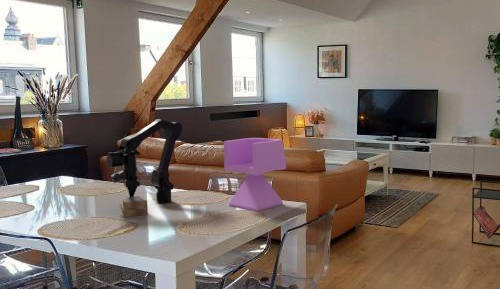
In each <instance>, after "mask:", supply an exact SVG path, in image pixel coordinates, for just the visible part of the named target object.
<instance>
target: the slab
mask: <svg viewBox="0 0 500 289" xmlns="http://www.w3.org/2000/svg"><path fill="white" fill-rule="evenodd" d="M125 198H126V202H130V201H141V200H145V199H144V198H142V196H139V195H136V196H135V195H134V196H133V197H130V196H128V197H127V196H126V197H125Z"/></svg>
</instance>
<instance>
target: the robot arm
mask: <svg viewBox="0 0 500 289" xmlns="http://www.w3.org/2000/svg"><path fill="white" fill-rule="evenodd" d="M183 128H184V127H183V125H182V124H181V123H180V122H178V121H167V120H164V119H161V118H160V119H159V118H158V119H157V118H156V119H155V120H154V121H152V122H151V123H150V124H148V125H147V126H145V127H143V128H142V129H140V130H139V131H137V133H133V134H131V135H128V136H124V138H122V139H121V140H120V144H119V147H118V148H117V150H116V151H114V152H107V153H108V154H107V156H106V160H105V162H106V163H105V164H106V166H107V167H108V168H109V169H111V168H119V167H122V170H120V171H118V172H115V173H113V174H111V175H110V178H111V179H112V181H113V184H115V183H118V182H119V181H122V182H124V183H123V185H124V187H125V188H127V191H128V197H133V196H135V194H136V191H137V188H138V187H139V188H140V187H141V183H140V180H139V179H138V175H137V174H138V167H137V156H139V155H141V152H140V151H139V150H137V148H139V147H140V146H141V144H142V143H143V142H144V141H145V140H146V139H148V138H149V137H150V136H152V135H153V134H154V133H156V132H158V131H159V130H163V131H164V135H165V141H164V145H163V147H162V148H163V149H162V152H161V155H160V160H159V164H158V167H157V169H153V170H152V174H151V176H150V179H151V180H150V182H151V183H152V185H153V186H154V189H156V192H155V201H156V202H157V203H158V204H165V203H167V204H168V203H173V200H172V190H173V189H174V187H175V186H174V184H173V183H172V182H171V181H170V172H169V168H170V164H171V161H172V157H173V154H174V149H175V146H176V142H177V140H178V139H180V136H181V134H182V132H183Z"/></svg>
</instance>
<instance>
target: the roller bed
mask: <svg viewBox="0 0 500 289" xmlns="http://www.w3.org/2000/svg"><path fill="white" fill-rule="evenodd" d="M123 202H126V198H124V197H123V198H122V201H119V207H120V210H121V213H122V216H124V213H123Z"/></svg>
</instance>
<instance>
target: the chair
mask: <svg viewBox="0 0 500 289" xmlns="http://www.w3.org/2000/svg"><path fill="white" fill-rule="evenodd" d="M223 154H224V155H223V162H224V164H223V165H224V166H223V167H224V168H223V169H224V171H225V172H236V173H237V172H238V173H241V174H245V175H246V174H247V176H246V178H245V179H244V181H243V183H242V184H241V185H240V186H239V188H238V189H237V191H236V192H235V193H234V195H233V197H232V198H231V200H230V201H229V202H228V206H229V207H233V208H238V209H243V210H247V211H253V212H256V213H257V212H261V211H264V210H267V209H270V208H271V209H272V208H275V207H278V206H282V205H283V204H284V202H283V200H282V198H281V197H280V196H279V194H278V193H277V191H275V189H274V188H273V186H271V184H270V183H269V182H268V180H267V179H266V178H265V177H264V174H266V173H269V172H274V171H282V170H286V169H287V162H286V155H285V150H284V142H283V139H278V138H266V137H264V138H263V137H248V138H247V137H246V138H240V139H238V138H237V139H232V140H225V141H223Z"/></svg>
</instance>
